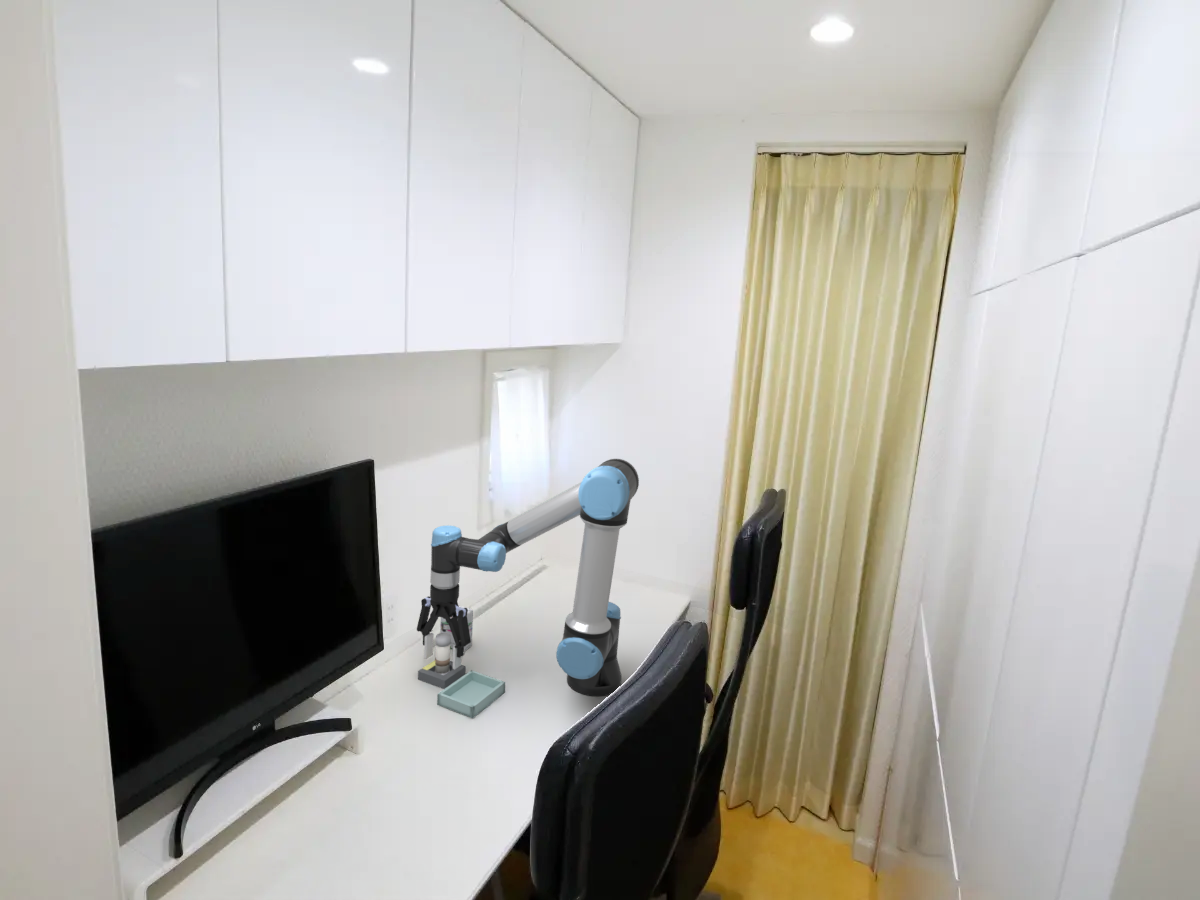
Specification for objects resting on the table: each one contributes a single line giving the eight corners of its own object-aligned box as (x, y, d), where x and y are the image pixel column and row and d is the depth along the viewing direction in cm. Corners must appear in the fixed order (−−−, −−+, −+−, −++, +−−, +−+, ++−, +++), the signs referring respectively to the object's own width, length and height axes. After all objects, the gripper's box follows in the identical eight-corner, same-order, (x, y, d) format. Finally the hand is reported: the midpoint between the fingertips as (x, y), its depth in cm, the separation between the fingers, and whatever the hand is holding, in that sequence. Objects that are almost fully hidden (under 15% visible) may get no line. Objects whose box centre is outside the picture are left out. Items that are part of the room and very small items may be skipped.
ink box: (438, 646, 197) (439, 609, 195) (447, 639, 202) (448, 603, 200) (464, 652, 195) (465, 615, 192) (472, 645, 199) (473, 608, 197)
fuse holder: (465, 674, 183) (465, 665, 182) (444, 689, 175) (444, 680, 174) (439, 665, 187) (440, 656, 186) (417, 679, 179) (418, 670, 178)
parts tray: (504, 692, 175) (505, 681, 175) (472, 718, 163) (472, 707, 162) (471, 680, 180) (471, 670, 180) (437, 704, 168) (437, 693, 167)
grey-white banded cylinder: (452, 675, 182) (454, 635, 179) (443, 682, 178) (444, 641, 176) (441, 671, 183) (442, 631, 181) (431, 678, 180) (432, 637, 177)
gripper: (487, 589, 174) (483, 667, 179) (422, 570, 184) (420, 645, 188) (469, 598, 168) (466, 679, 172) (403, 578, 177) (402, 656, 181)
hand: (442, 661), depth 180 cm, fingers open, 9 cm apart
